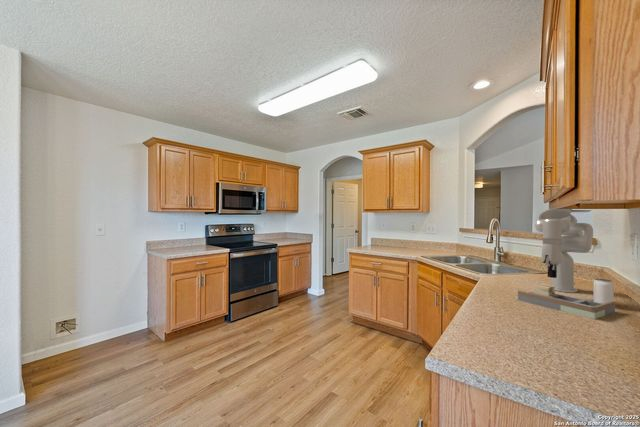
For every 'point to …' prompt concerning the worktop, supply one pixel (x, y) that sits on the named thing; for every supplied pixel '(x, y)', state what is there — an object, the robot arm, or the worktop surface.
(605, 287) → the can
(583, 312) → the trap deck
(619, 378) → the worktop surface
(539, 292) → the block
